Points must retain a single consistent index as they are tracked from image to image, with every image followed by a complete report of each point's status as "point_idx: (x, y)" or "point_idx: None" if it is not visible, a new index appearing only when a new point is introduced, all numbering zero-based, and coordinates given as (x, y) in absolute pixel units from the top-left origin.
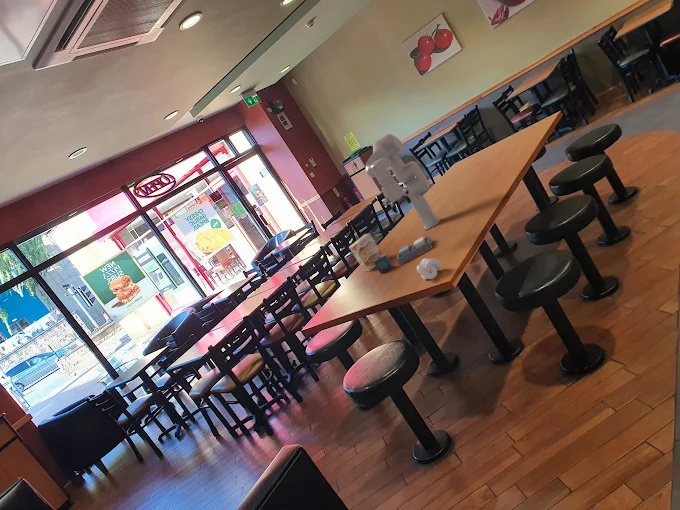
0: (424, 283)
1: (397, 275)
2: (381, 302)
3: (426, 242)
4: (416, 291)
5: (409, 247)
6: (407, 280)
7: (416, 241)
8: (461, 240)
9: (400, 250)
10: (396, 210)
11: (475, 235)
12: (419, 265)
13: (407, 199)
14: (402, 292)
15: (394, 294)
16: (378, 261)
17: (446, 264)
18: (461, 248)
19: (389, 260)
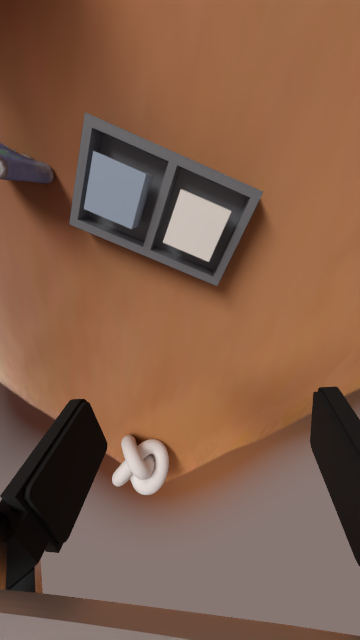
0: None
1: (67, 305)
2: (21, 396)
3: (231, 190)
4: None
5: (145, 189)
6: (92, 383)
7: (186, 217)
8: (277, 383)
9: (95, 181)
10: (93, 472)
11: (304, 412)
12: (120, 484)
13: (339, 501)
14: None
15: (54, 403)
16: None
17: (183, 440)
18: (243, 423)
19: (31, 176)
